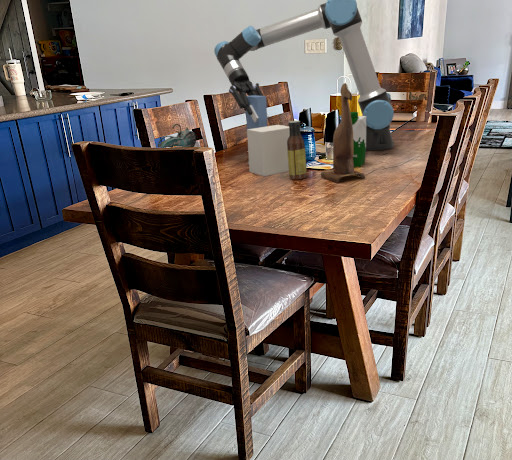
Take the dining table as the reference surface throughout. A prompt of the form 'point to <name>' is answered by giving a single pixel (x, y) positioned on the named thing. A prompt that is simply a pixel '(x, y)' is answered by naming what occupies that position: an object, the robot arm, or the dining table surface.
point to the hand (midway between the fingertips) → (261, 119)
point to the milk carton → (359, 139)
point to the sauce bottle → (296, 152)
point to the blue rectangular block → (257, 112)
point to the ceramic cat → (179, 139)
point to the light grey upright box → (268, 149)
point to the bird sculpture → (343, 143)
